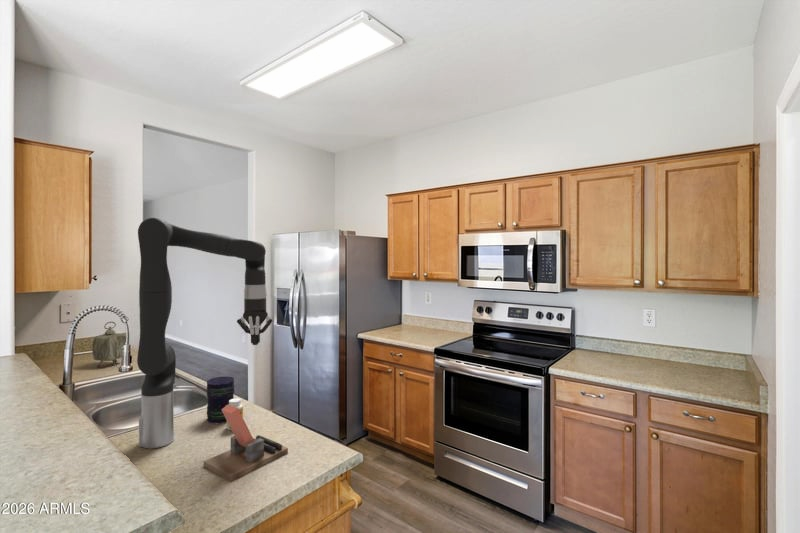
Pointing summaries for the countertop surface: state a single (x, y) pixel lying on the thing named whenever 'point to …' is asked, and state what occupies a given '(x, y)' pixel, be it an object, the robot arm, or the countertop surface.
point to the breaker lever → (237, 425)
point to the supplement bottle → (235, 403)
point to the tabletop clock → (108, 346)
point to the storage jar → (219, 397)
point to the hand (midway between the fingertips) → (255, 344)
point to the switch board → (245, 457)
